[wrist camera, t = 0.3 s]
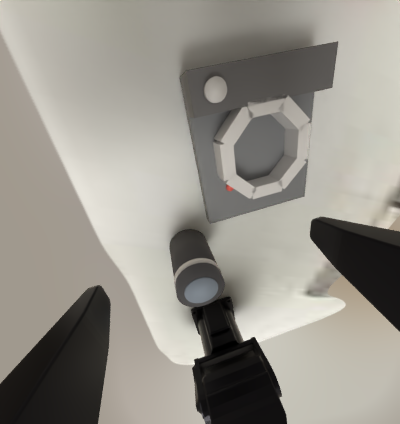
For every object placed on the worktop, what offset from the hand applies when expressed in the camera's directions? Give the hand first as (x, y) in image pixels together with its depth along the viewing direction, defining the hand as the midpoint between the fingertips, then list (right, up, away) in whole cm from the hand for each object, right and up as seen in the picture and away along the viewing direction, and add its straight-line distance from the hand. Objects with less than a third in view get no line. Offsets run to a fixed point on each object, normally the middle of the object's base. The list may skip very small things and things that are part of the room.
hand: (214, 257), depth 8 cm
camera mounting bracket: (+5, +9, +12) cm, 16 cm away
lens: (-2, -2, +16) cm, 16 cm away
